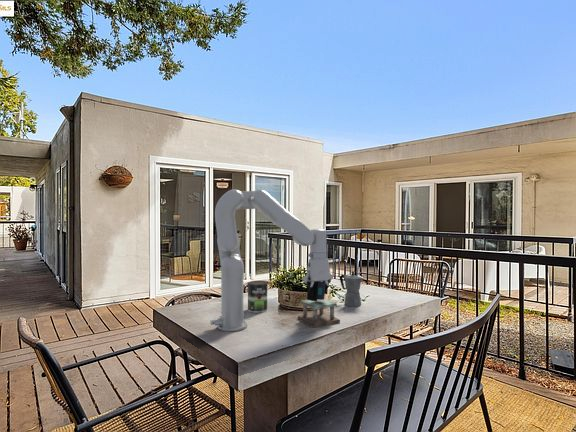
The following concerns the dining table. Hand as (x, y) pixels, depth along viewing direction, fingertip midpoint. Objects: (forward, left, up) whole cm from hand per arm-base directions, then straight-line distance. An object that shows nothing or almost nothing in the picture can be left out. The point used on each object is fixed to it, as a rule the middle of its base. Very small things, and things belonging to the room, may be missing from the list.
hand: (318, 294), depth 158 cm
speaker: (-1, 0, -3) cm, 3 cm away
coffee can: (-18, +30, -13) cm, 37 cm away
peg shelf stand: (0, 0, -12) cm, 12 cm away
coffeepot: (+32, +17, -13) cm, 39 cm away
